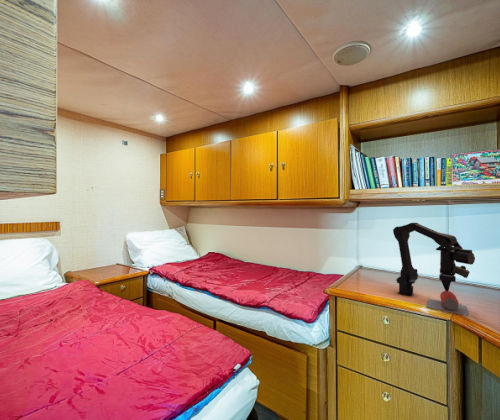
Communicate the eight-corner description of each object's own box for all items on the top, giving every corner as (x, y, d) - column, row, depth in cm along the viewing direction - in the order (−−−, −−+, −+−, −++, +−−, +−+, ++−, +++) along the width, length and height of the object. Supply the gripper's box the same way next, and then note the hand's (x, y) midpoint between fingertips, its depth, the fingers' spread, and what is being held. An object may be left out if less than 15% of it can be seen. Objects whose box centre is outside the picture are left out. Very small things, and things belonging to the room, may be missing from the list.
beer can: (457, 293, 131) (460, 300, 121) (454, 305, 131) (457, 313, 121) (441, 288, 134) (443, 295, 124) (438, 300, 135) (441, 308, 125)
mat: (426, 307, 128) (426, 306, 128) (428, 299, 139) (428, 298, 139) (468, 316, 118) (468, 315, 118) (466, 306, 129) (466, 305, 129)
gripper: (470, 266, 115) (469, 300, 115) (467, 259, 130) (466, 289, 130) (439, 262, 122) (438, 294, 122) (440, 256, 137) (439, 285, 137)
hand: (446, 291), depth 128 cm, fingers closed
